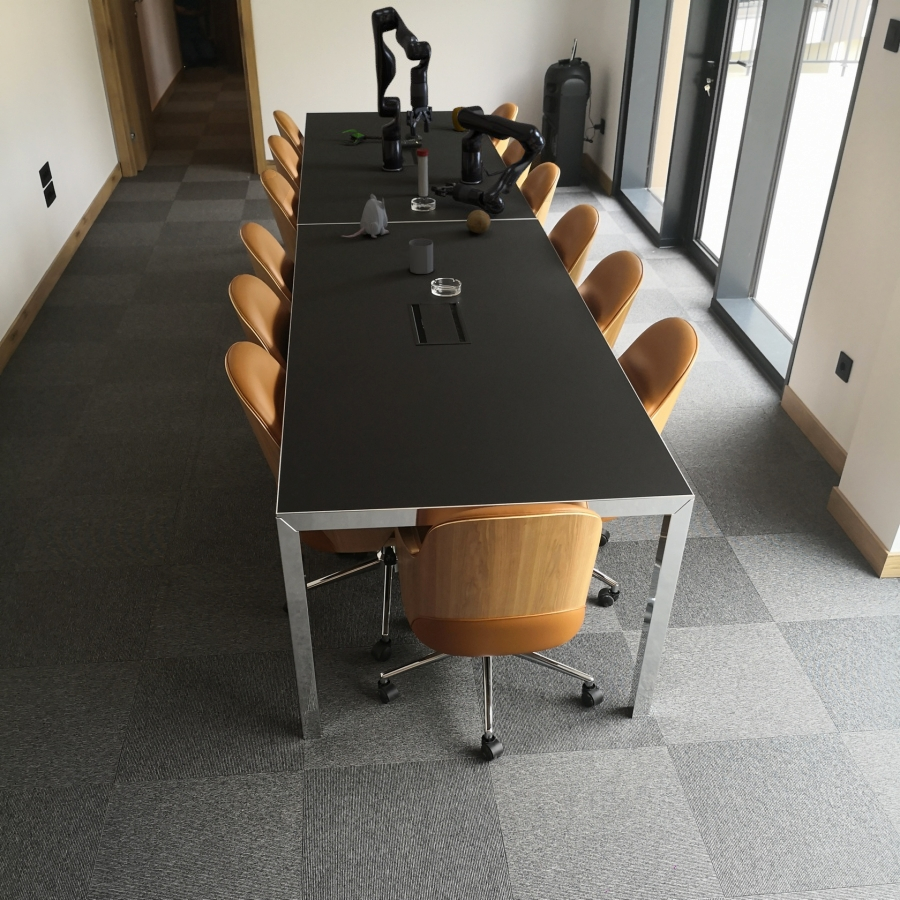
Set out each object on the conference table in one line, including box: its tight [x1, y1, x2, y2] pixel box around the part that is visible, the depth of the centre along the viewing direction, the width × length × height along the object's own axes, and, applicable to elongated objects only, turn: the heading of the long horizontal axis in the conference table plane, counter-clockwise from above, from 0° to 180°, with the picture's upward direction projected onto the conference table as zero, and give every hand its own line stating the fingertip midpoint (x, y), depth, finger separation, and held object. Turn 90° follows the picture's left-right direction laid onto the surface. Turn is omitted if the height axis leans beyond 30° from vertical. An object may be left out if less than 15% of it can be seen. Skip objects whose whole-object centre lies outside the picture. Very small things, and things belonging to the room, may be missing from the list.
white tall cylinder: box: [417, 155, 429, 198], centre depth 380 cm, size 4×4×19 cm
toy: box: [341, 193, 390, 239], centre depth 333 cm, size 9×24×15 cm, turn 137°
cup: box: [408, 237, 434, 275], centre depth 305 cm, size 8×8×10 cm
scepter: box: [340, 129, 382, 146], centre depth 465 cm, size 6×13×30 cm
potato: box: [465, 209, 492, 234], centre depth 341 cm, size 10×14×8 cm
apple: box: [451, 105, 467, 132], centre depth 487 cm, size 11×11×13 cm
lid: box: [416, 148, 430, 157], centre depth 375 cm, size 5×5×2 cm
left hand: (419, 134), depth 371 cm, fingers open, 8 cm apart
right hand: (438, 186), depth 376 cm, fingers open, 8 cm apart
